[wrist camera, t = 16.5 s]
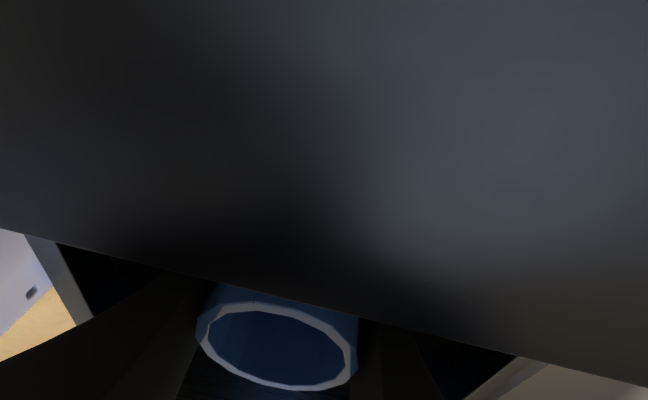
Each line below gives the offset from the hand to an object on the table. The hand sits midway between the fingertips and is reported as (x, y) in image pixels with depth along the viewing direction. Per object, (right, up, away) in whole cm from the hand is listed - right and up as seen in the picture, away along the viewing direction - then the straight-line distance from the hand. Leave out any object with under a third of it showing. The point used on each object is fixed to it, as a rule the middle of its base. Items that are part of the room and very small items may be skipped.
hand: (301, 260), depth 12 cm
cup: (0, +1, +1) cm, 1 cm away
